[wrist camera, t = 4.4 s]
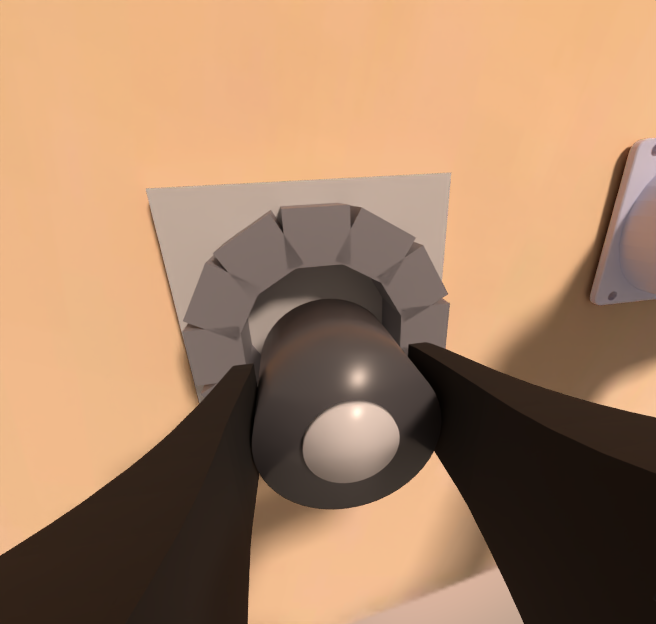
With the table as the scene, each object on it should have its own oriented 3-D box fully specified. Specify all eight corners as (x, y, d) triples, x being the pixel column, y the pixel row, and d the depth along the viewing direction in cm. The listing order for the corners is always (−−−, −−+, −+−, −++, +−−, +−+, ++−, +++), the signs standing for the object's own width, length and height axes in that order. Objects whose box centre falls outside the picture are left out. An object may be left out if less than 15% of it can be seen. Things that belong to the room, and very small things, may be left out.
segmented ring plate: (441, 173, 14) (487, 168, 11) (424, 399, 18) (453, 439, 15) (153, 189, 12) (113, 187, 9) (211, 429, 16) (197, 481, 14)
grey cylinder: (402, 304, 11) (469, 365, 7) (376, 414, 13) (419, 512, 9) (265, 292, 10) (258, 353, 6) (256, 412, 12) (245, 520, 8)
